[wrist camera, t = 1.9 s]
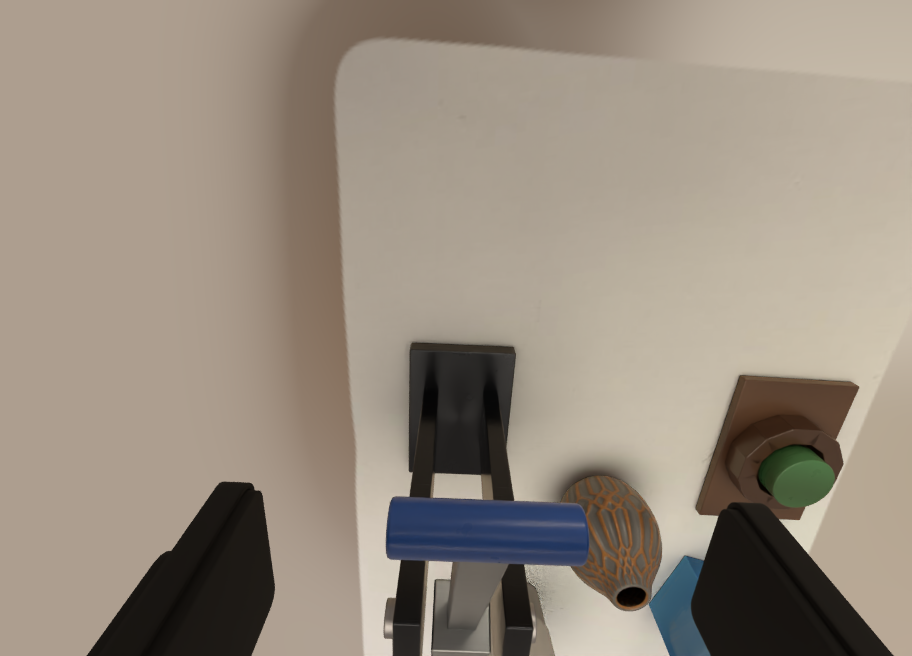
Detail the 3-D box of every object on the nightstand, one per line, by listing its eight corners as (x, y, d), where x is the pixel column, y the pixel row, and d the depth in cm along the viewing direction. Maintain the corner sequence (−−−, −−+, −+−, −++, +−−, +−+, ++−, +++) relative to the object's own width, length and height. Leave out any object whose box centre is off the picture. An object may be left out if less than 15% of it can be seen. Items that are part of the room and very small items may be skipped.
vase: (543, 469, 36) (568, 567, 28) (634, 453, 35) (687, 548, 27) (556, 535, 38) (582, 643, 30) (641, 522, 38) (691, 628, 30)
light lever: (394, 459, 10) (379, 586, 8) (580, 467, 10) (599, 593, 9) (414, 592, 21) (409, 658, 19) (504, 595, 21) (506, 661, 19)
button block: (739, 374, 33) (761, 393, 30) (852, 381, 33) (882, 400, 31) (695, 508, 37) (710, 533, 35) (793, 513, 37) (816, 538, 35)
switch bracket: (411, 342, 32) (361, 564, 15) (514, 346, 32) (573, 572, 15) (410, 462, 36) (368, 743, 19) (502, 465, 36) (539, 748, 19)
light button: (768, 442, 32) (784, 458, 31) (825, 445, 32) (844, 462, 31) (750, 488, 34) (765, 506, 32) (804, 491, 34) (822, 509, 32)
